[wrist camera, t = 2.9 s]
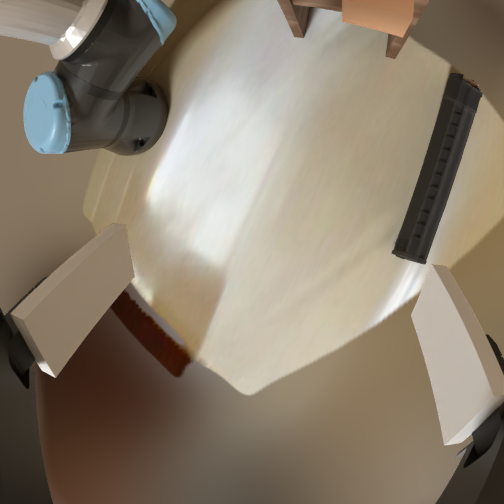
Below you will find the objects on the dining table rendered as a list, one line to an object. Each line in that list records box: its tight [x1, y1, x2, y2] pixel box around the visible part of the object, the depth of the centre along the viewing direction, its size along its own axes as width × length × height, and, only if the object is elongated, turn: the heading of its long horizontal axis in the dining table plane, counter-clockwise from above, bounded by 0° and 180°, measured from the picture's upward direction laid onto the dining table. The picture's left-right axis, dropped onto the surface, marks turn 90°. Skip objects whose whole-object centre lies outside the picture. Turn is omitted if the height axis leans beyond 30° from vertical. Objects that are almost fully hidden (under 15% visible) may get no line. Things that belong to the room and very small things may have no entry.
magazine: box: [392, 73, 483, 264], centre depth 34 cm, size 17×3×30 cm
